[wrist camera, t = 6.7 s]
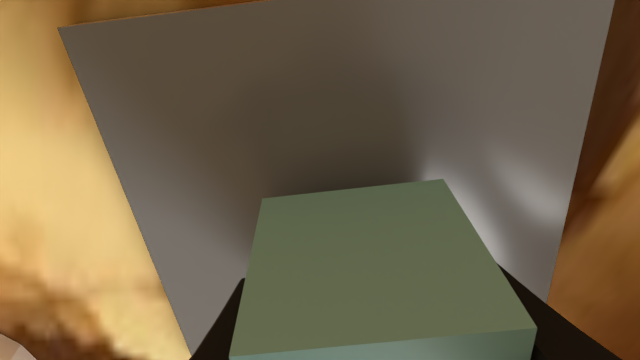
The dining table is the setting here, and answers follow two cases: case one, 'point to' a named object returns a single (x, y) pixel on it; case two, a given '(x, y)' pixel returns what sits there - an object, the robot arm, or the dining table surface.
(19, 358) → the white cup
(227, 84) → the slate board
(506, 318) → the teal cube
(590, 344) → the robot arm
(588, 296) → the dining table surface
